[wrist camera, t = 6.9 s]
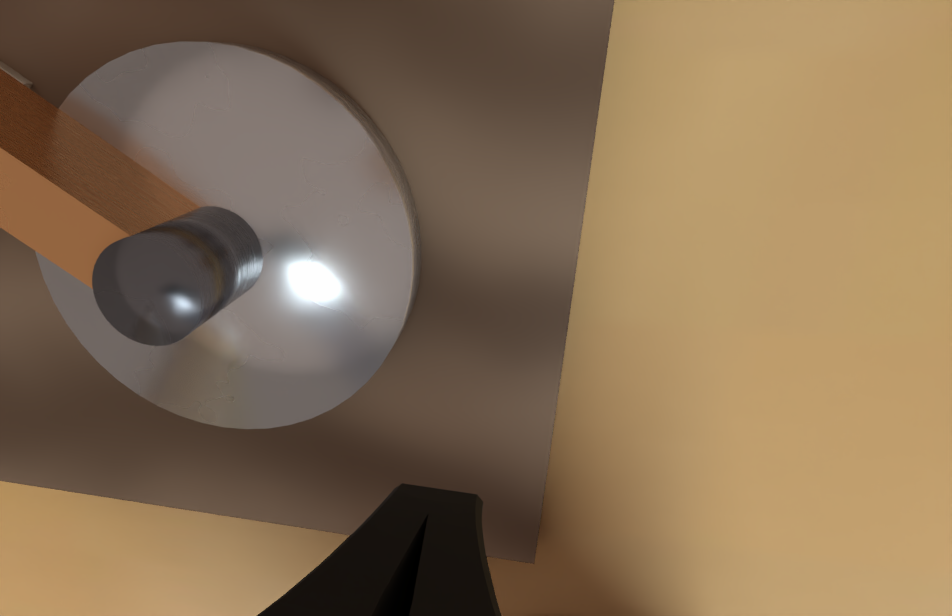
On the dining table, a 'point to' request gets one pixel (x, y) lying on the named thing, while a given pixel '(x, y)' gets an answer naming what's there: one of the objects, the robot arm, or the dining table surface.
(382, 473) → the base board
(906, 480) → the dining table surface
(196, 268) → the dial
